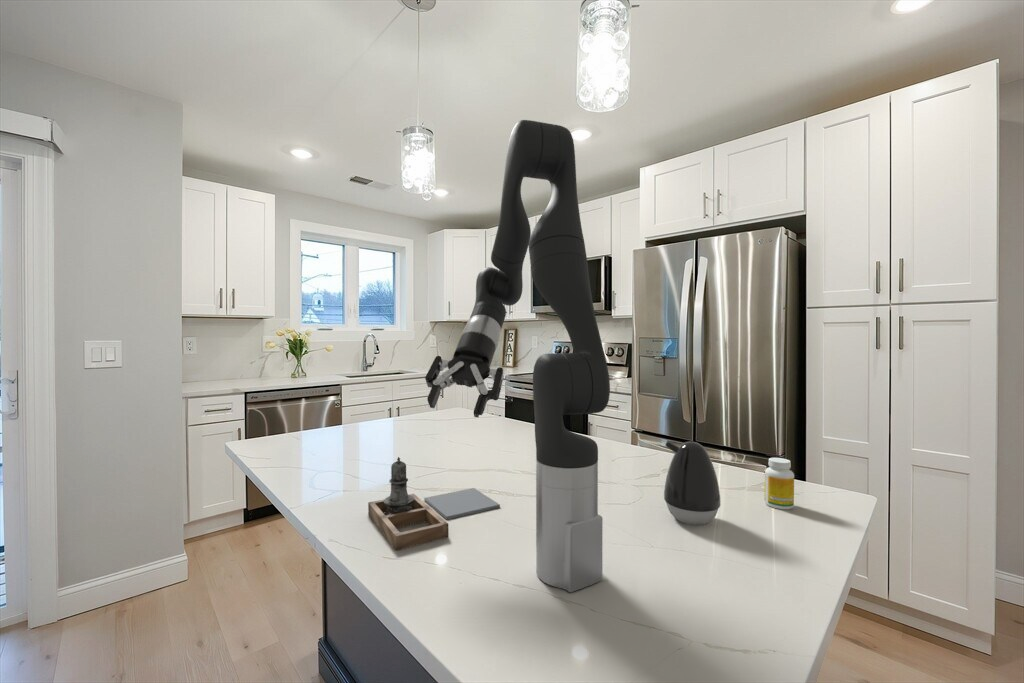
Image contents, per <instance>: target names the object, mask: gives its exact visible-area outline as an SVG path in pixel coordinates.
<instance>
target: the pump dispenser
mask: <svg viewBox="0 0 1024 683" xmlns="http://www.w3.org/2000/svg"><path fill="white" fill-rule="evenodd" d="M665 447H667V448H668V449H670V450H671V451H672V452H674V454H673V457H672V458H671V461H670V464H669V466H668V469H667V473H666V479H665V483H664V491H663V498H664V501H665V503H666V507H667V509H668V511H669V513H670V514H671V516H673V518H675V519H676V520H677V521H679V522H681V523H683V524H687V525H690V526H701V525H706V524H708V523H710V522H711V521H713V520H714V519H715V517H716V516H717V514H718V511H719V509H720V508H721V493H720V486H719V481H718V477H717V474H716V470H715V466H714V464H713V461H712V459H711V457H710V455H709V453H708V452H707V450H706V448H705V447H704V446H703V445H702V444H700V443H698V442H695V441H685V442H684V443H682V444H680V445H679V446H678V445H676V444H674V443H673V442H670V441H667V442H666V443H665Z"/></svg>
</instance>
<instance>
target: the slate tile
mask: <svg viewBox="0 0 1024 683" xmlns="http://www.w3.org/2000/svg"><path fill="white" fill-rule="evenodd" d="M424 500H425V501H426V502H425V501H424ZM423 501H424V502H425V503H426V504H427V505H428V506H429V507H430V508H432V507H433V508H432V509H433V510H434V511H435V512H436V513H437V514H438V515H439V516H440V515H441V516H442V518H443V519H444V520H445V521H446V520H450V519H451V518H452V519H456V518H460V517H464V516H469V515H473V514H477V513H480V512H486V511H490V510H494V509H498V508H501V504H500V503H498V502H497V501H495V500H494V499H492V498H490V497H489V496H487V495H486V494H484V493H482V492H481V491H480V490H477V489H476V488H475V487H472V488H467V489H462V490H456V491H452V492H447V493H442V494H435V495H432V496H427V497H424V498H423ZM452 519H451V520H452Z"/></svg>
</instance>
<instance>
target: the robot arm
mask: <svg viewBox="0 0 1024 683" xmlns="http://www.w3.org/2000/svg"><path fill="white" fill-rule="evenodd" d="M575 153H576V151H575V143H574V138H573V135H572V132H571V130H569V129H568V128H567V127H565V126H563V125H559V124H553V123H547V122H542V121H535V120H529V119H521V120H519V121H518V122H516V123H515V125H514V127H513V128H512V131H511V133H510V136H509V140H508V145H507V151H506V158H505V166H504V173H503V174H504V175H503V181H502V182H503V183H502V189H501V190H502V192H501V200H500V211H499V220H498V225H497V230H496V234H495V238H494V242H493V247H492V250H491V255H490V260H491V263H492V265H493V266H494V267H489V266H488V267H484V268H483V269H481V270H480V271H479V273H478V274H477V278H476V281H475V300H474V301H475V302H474V306H473V309H472V312H471V314H470V317H469V319H468V321H467V323H466V324H465V326H464V328H463V331H462V332H461V334H460V338H459V341H458V343H457V346H456V347H455V351H454V353H453V356H452V358H451V359H449V360H446V359H442V357H441V355H437V356H435V358H434V359H433V362H432V364H431V366H430V368H429V369H428V371H427V372H426V375H425V376H424V379H425V382H426V385H427V387H428V388H430V391H429V394H428V395H427V402H428V405H429V408H431V409H435V407H436V405H437V403H438V401H439V398H440V395H441V391H443V390H444V389H445V388H450V387H451V386H453V385H454V384H456V385H459V386H465V387H467V388H473V387H476V389H477V391H478V393H479V394H478V398H477V400H476V403H475V405H474V409H473V418H479V417H480V416H482V415H483V414H484V413H485V409H486V406H487V403H488V401H490V400H491V401H492V400H493V401H498V400H499V399H500V395H501V389H502V386H503V382H504V369H503V367H497V369H496V368H491V366H492V365H491V364H492V362H493V359H494V356H495V352H496V349H498V344H499V341H500V338H501V337H500V336H501V331H502V328H503V325H504V322H505V319H506V317H507V316H506V315H507V310H506V309H507V308H506V307H505V306H507V307H508V306H514V305H515V304H517V303H518V302H519V301H520V299H521V298H522V294H523V268H524V267H523V266H524V261H525V257H526V255H527V252H528V253H529V261H530V262H529V264H530V272H531V278H532V282H533V283H534V286H535V287H536V289H537V291H538V292H539V294H540V295H541V296H542V298H543V299H544V300H545V302H546V303H547V304H548V306H549V307H550V308H551V309H552V311H554V312H553V313H555V314H556V315H557V317H558V318H559V319H560V321H561V322H562V325H564V328H565V329H566V332H567V334H568V336H569V340H570V342H571V347H572V351H573V352H563V353H562V352H560V353H559V352H558V353H557V352H556V353H555V352H554V353H543V354H541V355H539V357H537V359H536V360H535V363H534V366H533V371H532V396H533V409H534V410H533V411H534V412H533V413H534V415H533V416H534V441H535V450H536V451H535V452H536V453H535V454H536V456H535V462H536V463H535V464H536V465H535V466H536V467H535V468H536V470H535V472H536V474H535V477H536V478H535V480H536V482H535V490H536V491H535V494H536V495H535V499H536V500H535V506H536V507H535V512H536V513H535V514H536V516H535V519H536V520H535V522H536V524H535V526H536V527H535V529H536V532H535V533H536V534H535V536H536V537H535V539H536V540H535V547H536V549H535V550H536V560H535V561H536V565H535V566H536V576H537V577H538V578H539V579H540V581H542V582H543V583H545V584H547V585H549V586H552V587H555V588H559V589H563V590H566V591H567V592H569V593H573V592H575V591H578V590H581V589H583V588H587V587H589V586H592V585H594V584H596V583H599V582H602V581H603V516H602V515H600V514H599V507H598V506H599V505H598V502H599V498H598V497H599V493H598V492H599V488H598V483H599V482H598V481H599V469H598V468H599V464H598V463H599V447H598V443H597V442H596V441H595V440H594V439H592V438H591V437H588V436H586V435H583V434H579V433H577V432H576V433H575V432H573V431H570V430H569V429H568V428H566V427H565V424H564V418H563V416H567V415H569V416H573V415H589V414H590V415H591V414H597V413H599V414H600V413H601V412H603V411H604V410H605V409H606V408H607V406H608V404H609V400H610V394H611V382H610V374H609V368H608V364H607V359H606V354H605V351H604V346H603V343H602V339H601V334H600V330H599V327H598V323H597V322H598V321H597V318H596V314H595V308H594V303H593V302H594V301H593V296H592V295H593V294H592V290H591V282H590V274H589V264H588V258H587V252H586V243H585V239H584V234H583V228H582V222H581V221H582V220H581V215H580V206H579V200H578V189H577V188H578V187H577V186H578V185H577V169H576V166H577V165H576V164H577V163H576V154H575ZM524 178H531V179H538V180H544V181H545V180H546V181H549V183H550V187H551V195H550V200H549V202H548V204H547V206H546V208H545V209H544V211H543V213H542V214H541V216H540V218H539V219H538V220H537V222H536V224H535V226H534V228H533V230H531V224H530V221H529V217H528V215H527V213H526V212H527V211H526V209H525V206H524V203H523V200H522V185H523V184H522V182H523V179H524ZM531 231H532V232H531ZM445 368H448V369H447V370H445ZM444 370H445V371H444ZM443 371H444V372H443ZM441 372H443V373H442V374H441V375H440V373H441ZM439 375H440V376H439ZM490 376H491V380H492V381H493V383H492V386H491V389H487V387H486V384H485V382H484V381H485V380H486V379H487V378H489V377H490Z"/></svg>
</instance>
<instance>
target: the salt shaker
mask: <svg viewBox="0 0 1024 683" xmlns="http://www.w3.org/2000/svg"><path fill="white" fill-rule="evenodd" d="M390 472H391V473H390V474H391V475H390V476H391V477H390V479H389V481H388V482H389V483H390V495H389V496H386V497H385V498H384V501H383V502H384V504H385V507H386V509H387V511H388V512H387V513H388V514H387V515H391V514H396V513H401V512H405V511H410V510H411V509H412V508H411V506H412V502H413V501H414V497H413V496H411V495H409V494H408V487H407V485H408V484H407V482H408V481H409V479H408V478H407V464H406V462H404V461H402V460H401V458H400V457H399V456H397V458H396V461H395V462H393V463H392V464H391V471H390Z"/></svg>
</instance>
